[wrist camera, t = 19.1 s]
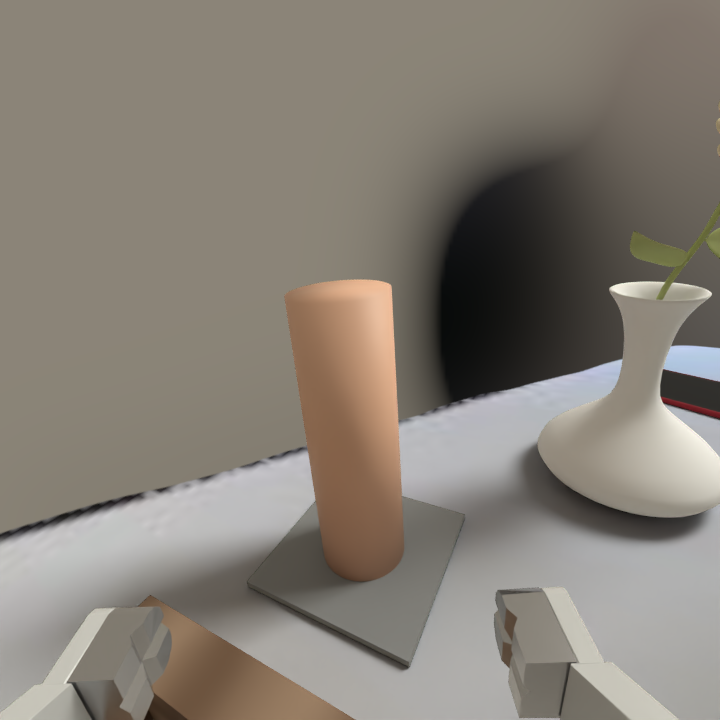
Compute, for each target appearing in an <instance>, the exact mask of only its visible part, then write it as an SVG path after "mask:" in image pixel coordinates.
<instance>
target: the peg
mask: <svg viewBox="0 0 720 720" xmlns="http://www.w3.org/2000/svg"><path fill="white" fill-rule="evenodd" d="M285 303H286V310H287V316H288V323H289V329H290V336H291V342H292V349H293V356H294V362H295V369H296V375H297V381H298V388H299V394H300V401H301V407H302V414H303V421H304V427H305V433H306V440H307V447H308V453H309V460H310V466H311V473H312V479H313V486H314V492H315V499H316V505H317V512H318V518H319V525H320V532H321V538H322V545H323V551H324V557H325V560H326V562H327V564H328V566H329V567H330V568H331V570H332V571H333V572H335V573H336V574H337V575H339V576H341V577H343V578H345V579H348V580H352V581H359V582H363V581H372V580H376V579H379V578H381V577H383V576H385V575H387V574H388V573H390V572H391V571H392V570H393V569H395V568H396V566H397V565H398V564H399V562H400V561H401V559H402V556H403V553H404V528H403V508H402V488H401V468H400V448H399V428H398V408H397V388H396V369H395V349H394V330H393V329H394V328H393V311H392V310H393V309H392V289H391V285H390V284H388V283H386V282H382V281H376V280H339V281H329V282H322V283H316V284H311V285H307V286H303V287H299V288H296V289H294V290H291V291H289V292H288V293H286V295H285Z"/></svg>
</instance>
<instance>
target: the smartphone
mask: <svg viewBox="0 0 720 720" xmlns="http://www.w3.org/2000/svg"><path fill="white" fill-rule="evenodd" d="M660 397H661V399H662V402H663V403H666V404H670V405H674V406H677V407H681V408H684V409H688V410H691V411H695V412H698V413H702V414H705V415H709V416H712V417H716V418H720V382H718V381H714V380H709V379H705V378H700V377H696V376H691V375H687V374H682V373H678V372H673V371H669V370H664V369H663V371H662V377H661V383H660Z"/></svg>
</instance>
